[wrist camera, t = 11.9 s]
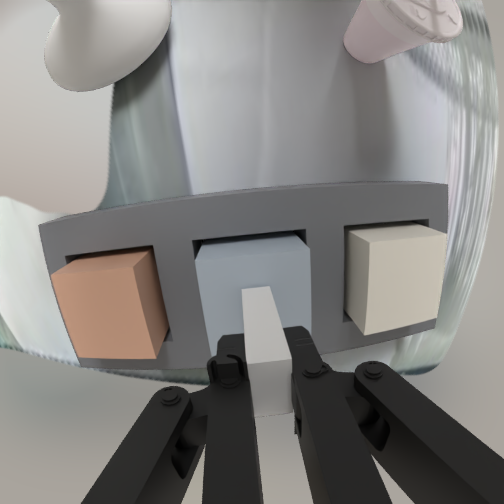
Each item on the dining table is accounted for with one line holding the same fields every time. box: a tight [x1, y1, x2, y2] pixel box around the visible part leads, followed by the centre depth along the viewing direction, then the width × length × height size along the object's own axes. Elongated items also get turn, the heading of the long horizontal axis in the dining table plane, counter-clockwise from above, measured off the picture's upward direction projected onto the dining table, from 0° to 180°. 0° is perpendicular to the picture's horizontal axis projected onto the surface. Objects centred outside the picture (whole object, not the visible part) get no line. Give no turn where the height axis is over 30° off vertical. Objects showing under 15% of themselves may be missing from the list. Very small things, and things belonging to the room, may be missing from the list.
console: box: [38, 181, 448, 370], centre depth 20 cm, size 12×30×4 cm, turn 95°
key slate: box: [195, 231, 311, 356], centre depth 18 cm, size 6×6×5 cm
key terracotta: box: [51, 245, 169, 359], centre depth 18 cm, size 6×6×5 cm
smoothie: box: [343, 0, 463, 64], centre depth 11 cm, size 6×6×14 cm
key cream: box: [343, 221, 447, 336], centre depth 18 cm, size 6×6×5 cm
